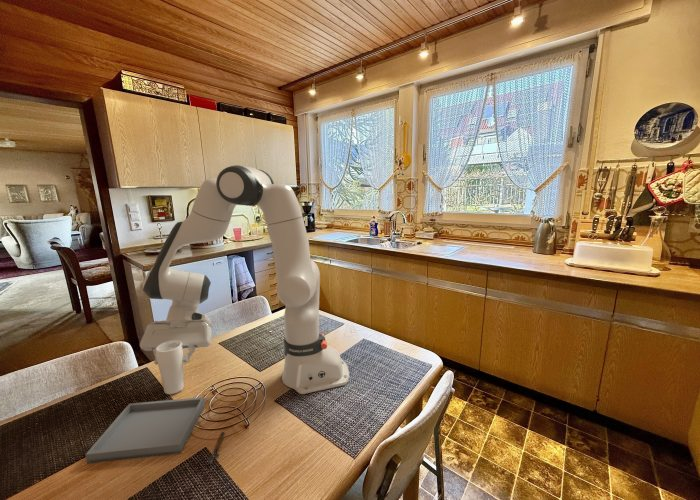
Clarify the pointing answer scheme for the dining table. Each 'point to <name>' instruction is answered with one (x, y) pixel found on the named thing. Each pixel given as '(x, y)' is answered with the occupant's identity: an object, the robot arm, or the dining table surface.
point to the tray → (148, 430)
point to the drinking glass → (171, 366)
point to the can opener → (216, 448)
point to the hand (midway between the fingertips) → (171, 363)
